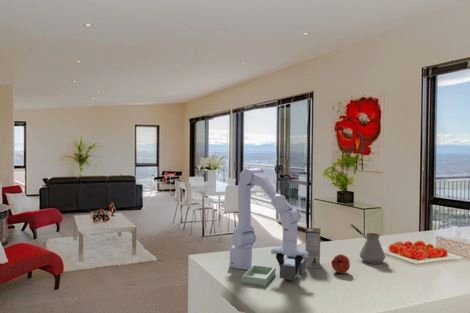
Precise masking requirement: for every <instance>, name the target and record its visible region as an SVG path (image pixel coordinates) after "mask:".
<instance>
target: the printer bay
mask: <svg viewBox="0 0 470 313" xmlns="http://www.w3.org/2000/svg"><path fill="white" fill-rule="evenodd" d="M295 257H296V256H292V255H286V257H284V262H285V261H286V259H295ZM306 268H307V267H306V257H303V258H302V260H301V262H300V265H299V274H300V275H299V276H300V277H303V276H304V274H305V272H306Z"/></svg>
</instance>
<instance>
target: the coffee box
mask: <svg viewBox="0 0 470 313" xmlns="http://www.w3.org/2000/svg"><path fill="white" fill-rule="evenodd" d="M305 251H306V252H308V257H307V258H306V268H312V269H313V268H315V269H320V256H321V227H319V228H318V227H317V228H315V227H306V229H305Z"/></svg>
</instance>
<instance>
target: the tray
mask: <svg viewBox="0 0 470 313" xmlns="http://www.w3.org/2000/svg"><path fill="white" fill-rule="evenodd" d="M276 270H277V269H276V267H274V266H267V265H257V264H255V265H253V266H252V267H251V268H250V269H249V270H246V271H245V272H244V273H243V274H242V275H241V284H244V285H251V286H260V287H267V285H268V284H269V283H271V281H272V279H274V277H275V276H276V275H277V274H276V272H277V271H276Z"/></svg>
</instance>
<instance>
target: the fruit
mask: <svg viewBox="0 0 470 313" xmlns="http://www.w3.org/2000/svg"><path fill="white" fill-rule="evenodd" d="M350 266H351V264H350V258H349V257H348V256H347V255H345V254H337V255H335V256H334V257H333V259H332V261H331V267H332V269H333V270H334V271H335V273H339V274H345V273H347V272H348V271H349V270H350Z"/></svg>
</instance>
